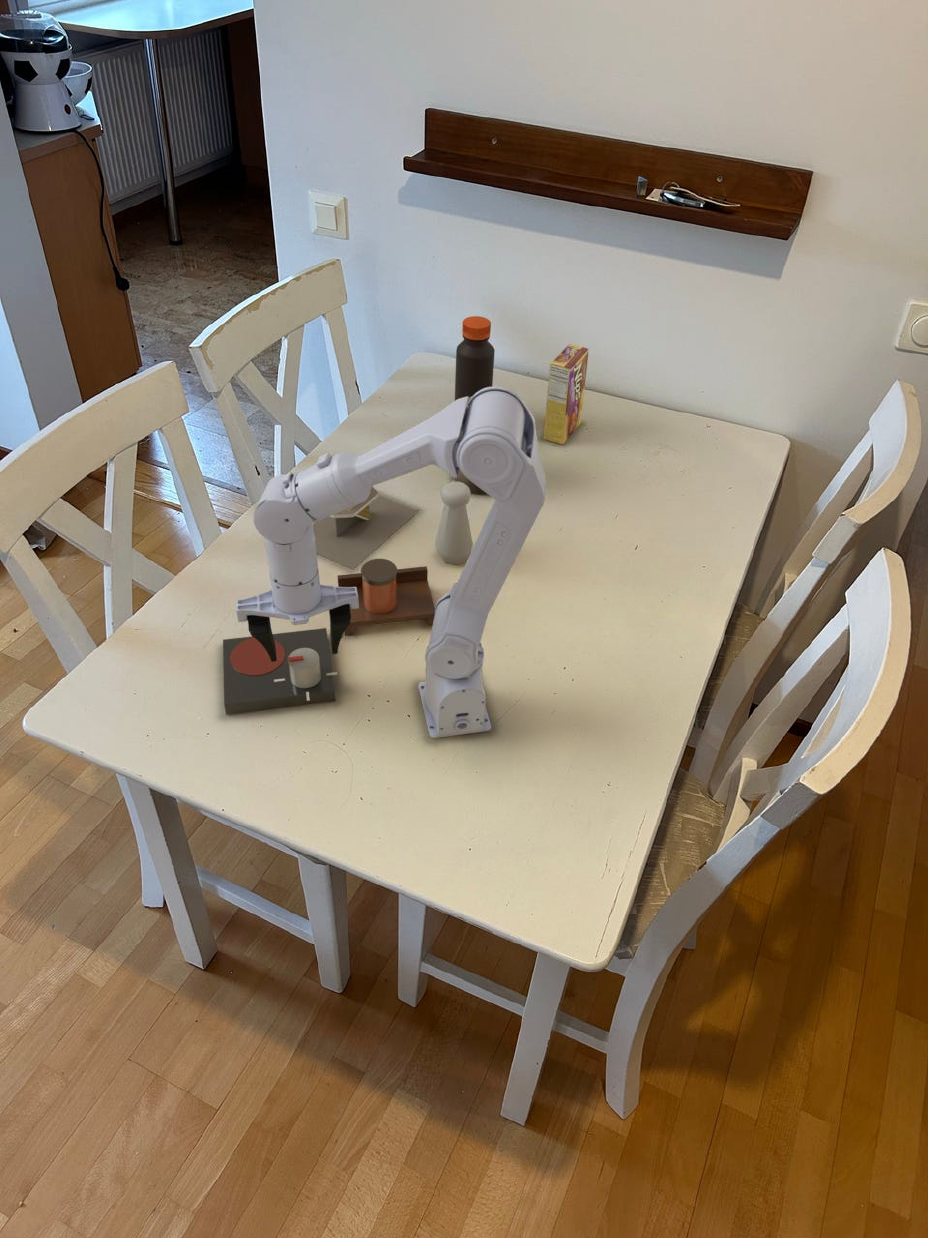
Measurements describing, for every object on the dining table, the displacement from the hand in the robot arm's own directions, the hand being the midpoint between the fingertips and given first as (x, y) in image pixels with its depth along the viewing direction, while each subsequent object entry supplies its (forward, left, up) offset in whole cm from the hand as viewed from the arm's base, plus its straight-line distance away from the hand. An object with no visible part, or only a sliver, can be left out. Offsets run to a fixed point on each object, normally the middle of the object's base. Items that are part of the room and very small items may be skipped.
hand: (304, 652), depth 117 cm
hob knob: (0, 0, -5) cm, 5 cm away
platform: (+34, -10, -7) cm, 36 cm away
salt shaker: (+24, -24, -7) cm, 35 cm away
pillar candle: (+44, -33, -7) cm, 56 cm away
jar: (+13, -11, -4) cm, 17 cm away
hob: (+3, +4, -7) cm, 8 cm away
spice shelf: (+13, -12, -7) cm, 19 cm away
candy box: (+57, -51, -7) cm, 77 cm away
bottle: (+62, -35, -7) cm, 72 cm away
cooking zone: (+5, +6, -5) cm, 9 cm away
